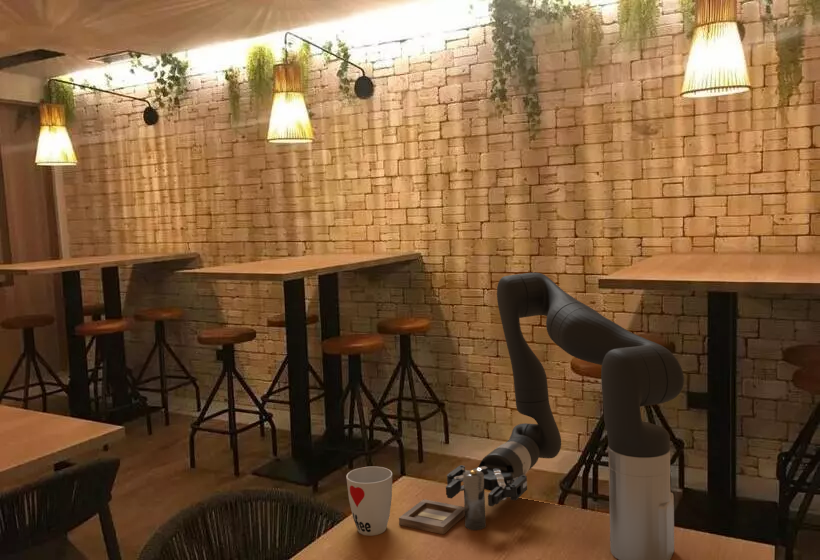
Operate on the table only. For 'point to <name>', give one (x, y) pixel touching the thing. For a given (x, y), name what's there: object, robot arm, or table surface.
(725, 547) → the table surface
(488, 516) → the table surface
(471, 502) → the cell
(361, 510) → the cup
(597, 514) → the table surface
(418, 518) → the bay
